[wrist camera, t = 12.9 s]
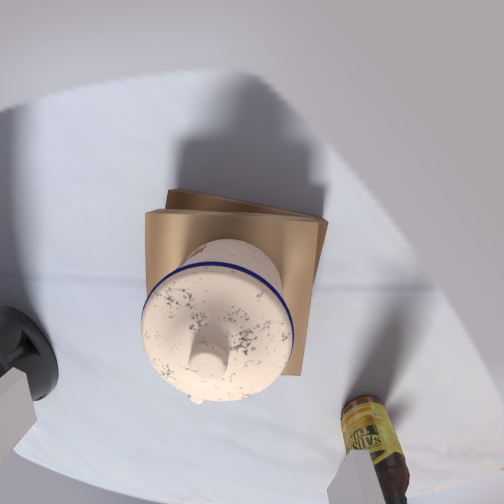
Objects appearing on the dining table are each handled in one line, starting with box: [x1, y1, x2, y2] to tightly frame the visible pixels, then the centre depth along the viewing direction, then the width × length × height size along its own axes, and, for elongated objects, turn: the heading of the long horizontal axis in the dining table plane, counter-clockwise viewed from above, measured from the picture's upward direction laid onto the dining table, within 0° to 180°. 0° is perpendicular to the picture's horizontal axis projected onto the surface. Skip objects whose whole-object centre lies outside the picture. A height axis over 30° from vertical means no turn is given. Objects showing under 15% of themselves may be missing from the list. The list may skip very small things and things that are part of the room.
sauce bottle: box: [341, 396, 410, 504], centre depth 28 cm, size 7×6×20 cm
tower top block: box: [145, 209, 319, 376], centre depth 29 cm, size 14×14×4 cm
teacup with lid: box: [141, 239, 294, 404], centre depth 21 cm, size 12×9×12 cm
